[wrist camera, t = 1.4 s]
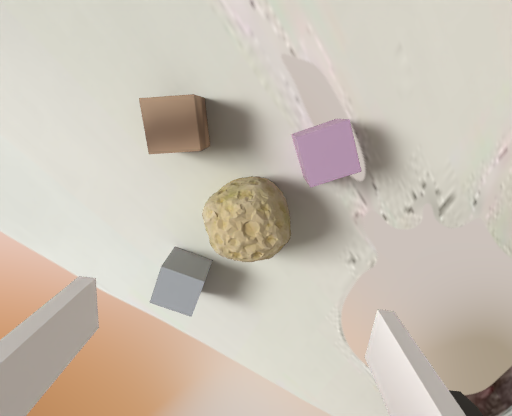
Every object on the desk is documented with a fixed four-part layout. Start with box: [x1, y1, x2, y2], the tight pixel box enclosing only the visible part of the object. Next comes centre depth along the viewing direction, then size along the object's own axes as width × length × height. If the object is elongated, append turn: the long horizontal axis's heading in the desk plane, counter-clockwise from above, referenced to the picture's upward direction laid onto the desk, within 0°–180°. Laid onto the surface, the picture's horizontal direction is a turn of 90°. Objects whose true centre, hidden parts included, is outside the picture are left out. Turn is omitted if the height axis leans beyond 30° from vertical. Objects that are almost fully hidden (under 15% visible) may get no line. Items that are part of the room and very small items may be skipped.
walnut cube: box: [139, 94, 210, 154], centre depth 29 cm, size 5×5×5 cm
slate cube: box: [150, 247, 213, 316], centre depth 34 cm, size 5×5×5 cm
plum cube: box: [291, 119, 361, 187], centre depth 29 cm, size 5×5×5 cm
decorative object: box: [202, 176, 291, 262], centre depth 31 cm, size 9×10×10 cm
